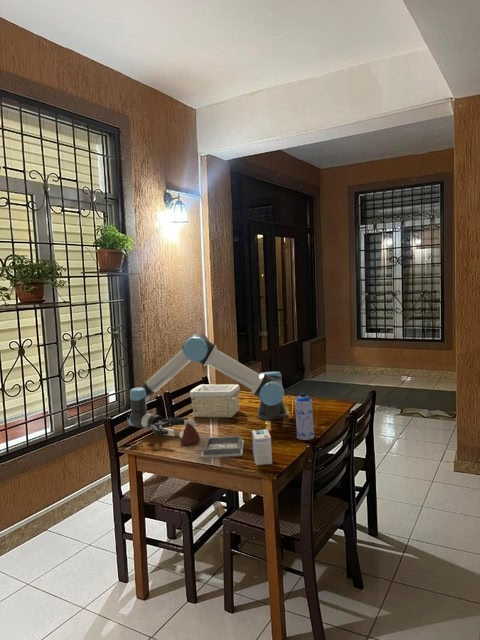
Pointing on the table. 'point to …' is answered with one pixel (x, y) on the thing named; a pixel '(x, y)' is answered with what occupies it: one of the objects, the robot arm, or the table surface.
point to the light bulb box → (262, 447)
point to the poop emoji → (189, 435)
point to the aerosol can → (304, 417)
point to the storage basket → (215, 400)
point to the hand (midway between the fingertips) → (184, 428)
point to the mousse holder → (223, 447)
